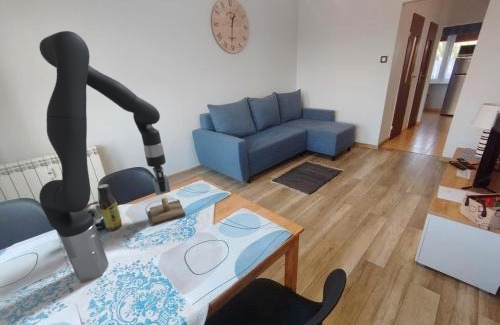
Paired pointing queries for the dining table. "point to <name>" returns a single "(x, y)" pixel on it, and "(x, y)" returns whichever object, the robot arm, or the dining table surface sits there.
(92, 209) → the watch
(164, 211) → the post board
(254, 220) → the dining table surface
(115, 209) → the sauce bottle
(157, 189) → the grey hollow cube
